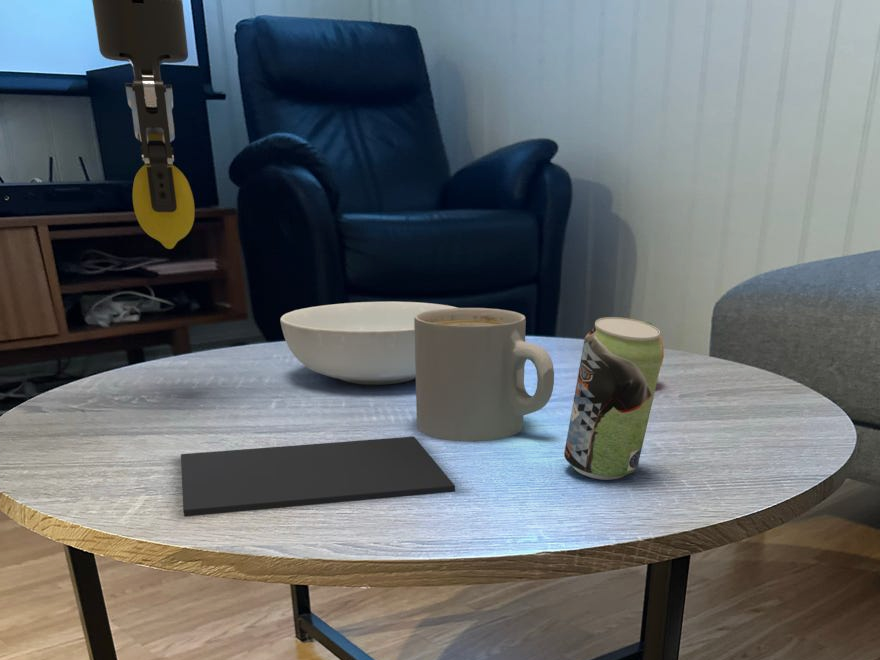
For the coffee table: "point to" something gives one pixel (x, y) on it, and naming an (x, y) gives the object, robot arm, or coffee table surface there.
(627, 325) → the beverage can
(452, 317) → the coffee mug
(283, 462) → the mat
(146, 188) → the lemon
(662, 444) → the coffee table surface
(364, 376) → the serving bowl
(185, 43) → the robot arm
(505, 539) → the coffee table surface
